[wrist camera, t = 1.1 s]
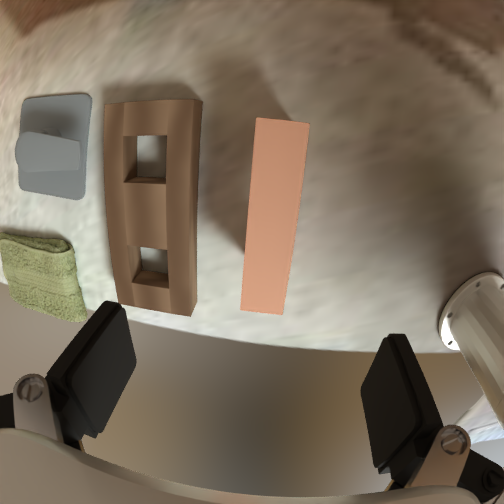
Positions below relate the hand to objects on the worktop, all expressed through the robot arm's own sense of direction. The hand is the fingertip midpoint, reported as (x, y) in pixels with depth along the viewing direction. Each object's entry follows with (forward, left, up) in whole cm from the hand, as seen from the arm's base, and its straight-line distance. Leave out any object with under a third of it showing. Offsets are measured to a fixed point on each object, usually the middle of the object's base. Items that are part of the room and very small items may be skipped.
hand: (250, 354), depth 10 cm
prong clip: (0, 0, -20) cm, 20 cm away
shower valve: (+25, -5, -21) cm, 33 cm away
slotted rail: (+12, +2, -20) cm, 23 cm away
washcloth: (+32, +13, -21) cm, 41 cm away
